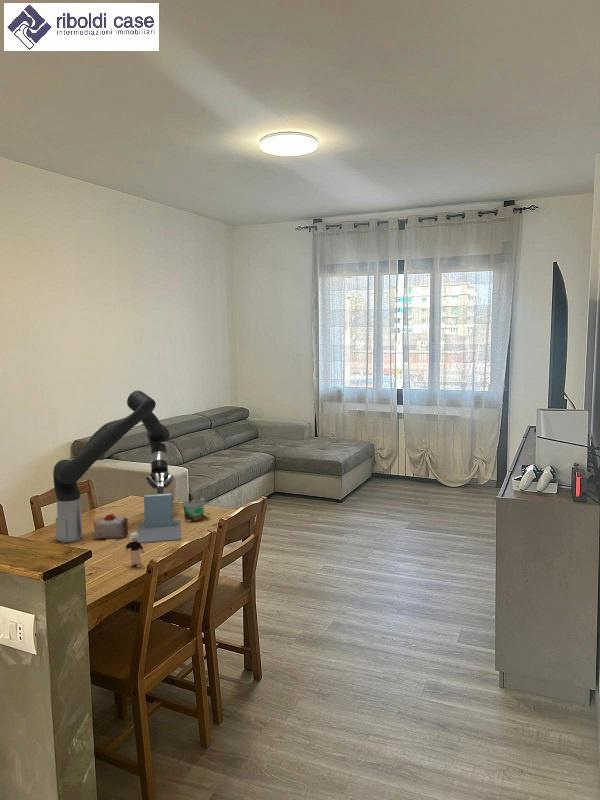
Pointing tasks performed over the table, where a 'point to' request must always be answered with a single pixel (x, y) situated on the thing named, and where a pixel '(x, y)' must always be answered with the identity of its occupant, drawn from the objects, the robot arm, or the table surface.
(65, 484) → the robot arm
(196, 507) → the food container
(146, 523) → the book
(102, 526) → the food item
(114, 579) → the table surface
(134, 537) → the grandmother figurine
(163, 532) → the mat
